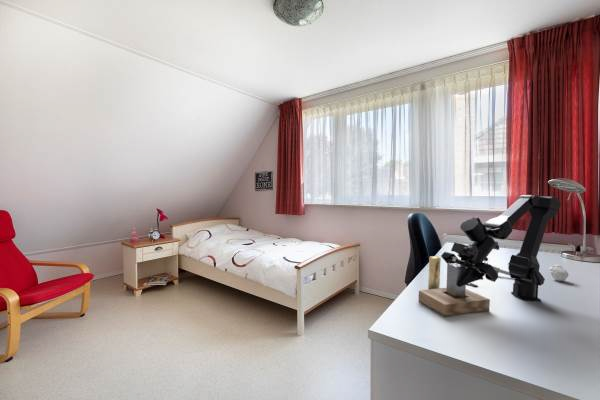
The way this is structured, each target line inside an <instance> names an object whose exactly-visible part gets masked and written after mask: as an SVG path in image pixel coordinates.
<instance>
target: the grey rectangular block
mask: <svg viewBox="0 0 600 400" xmlns="http://www.w3.org/2000/svg"><path fill="white" fill-rule="evenodd" d="M446 264H447V263H446ZM466 268H467V267H466V266H464V265H461V264H458V263H451V264H447V266H446V287H445V288H446V294H447V295H449V296H451V297H453V298H455V299H458V298H465V290H466V289H467V288H466V285H467V284H466V285H463V286H461V287H458V285H457V284H458V282H459V280H460V279H461V278H462V276H463V275H464V274H465V272H466Z"/></svg>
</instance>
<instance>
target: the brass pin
mask: <svg viewBox="0 0 600 400" xmlns="http://www.w3.org/2000/svg"><path fill="white" fill-rule="evenodd" d="M428 258H429V260H428V262H429V263H428V284H427V285H428V286H427V287H428V289H438V288H440V282H441V281H440V280H441V258H442V257H441V256H433V255H432V256H431V255H430V256H428ZM428 289H427V290H428Z"/></svg>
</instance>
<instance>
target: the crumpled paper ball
mask: <svg viewBox="0 0 600 400" xmlns="http://www.w3.org/2000/svg"><path fill="white" fill-rule="evenodd" d="M548 271H549V273H550V275H551V277H552V279H554V280H555V281H558V282H564V281H566V280H567V278H568V277H569V276H570V275H569V272H568V271H567V269H566V268H564V267H563V266H562V265H560V264H552V265H551V266H549V269H548Z"/></svg>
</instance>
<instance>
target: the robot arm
mask: <svg viewBox="0 0 600 400" xmlns="http://www.w3.org/2000/svg"><path fill="white" fill-rule="evenodd" d="M561 205H562V204H561V201H560V200H559V199H558V198H557V197H555V196H543V195H542V196H541V195H540V196H539V195H535V194H534V195H533V194H522V195H519V196H518V198H517V199H516V200H515V201H514V203H512V204H511V205H510V206H509V207H508V208H507V209H506V210H504V211H503V212H502V213H501V214H500V215H499V216H496V217H492V218H489V219H488V220H486V221H485V222H484V223H483V222H482V221H481V219H480V217H475V216H472V217H471V218H470V219H467V220H466V221H463V222H462V223H461V224H460V226H459V227H460V228H459V229H460V230H461V231H462V232H463V233H464V235H465V236H466V237H467V238H468V240H470V241H471V242H472V244H471V243H469V244H468V245H466V244H463V243H459V242H456V241H454V242H453V245H452V247H451V250H450V251H451V252H448V251H444V252H443V253H442V254H441V255H440V258H442V259H443V260H444V262H445V263H446V264H451V263H458V264H461V265H464V266H466V272H465V274H464V275H463V276H462V278H461V279H460V280H459V282H458V284H457V285H458V287H461V286H463V285H467V284H468V283H473V282H477V281H479V280H481V281H483V280H484V276H485V279H486V280H488V281H491V282H493V283H495V282H496V281H497V280H498V279H499V273H497V272H496V271H495V269H494V268H493V267H492V266H493V265H492V264H489V263H488V264H486V263H487V262H488V261H489V258H488V256H489V255H490V253H491V252H492V251H493V250H497V251H499V250H500V246H499V241H495V240H494V239H497V240H503V241H505V240H506V239H508V237H509V236H510V235H511V233H513V226H514V225H515V224H516V223H517V222H518V221H519V220H520V219H521V218H523V216H524V215H526V214H527V213H529V215H530V220H529V223H528V225H527V229H526V232H525V234H524V238H523V240H522V241H523V242H522V244H521V247H520V250H519V252H518V253H516V255H515V254H512V255H511V256H510V259H509V262H508V264H507V266H508V267H507V268H508V272H509V273H510V275H509V276H510V279H514V282H513V284H512V285H513V286H512V291H510V294H512V295H514V296H515V297H517V298H519V299H520V300H522V301H535V302H536V301H538V302H542V299H541V298H539V297H538V296H539V286H541V287H542V285H544V283H545V281H546V279H545V277H544V276H543V274H542V273H541V272H540V263H539V260H538V253H539V250H540V247H541V246H542V245H541V244H542V241H543V239H544V235H545V231H546V228H547V226H548V222H549V221H550V220H551V219H553V218H554V217H556V216H557V214H558V212H559V209H560V208H561ZM452 252H454V253H455V254H454V253H452ZM456 254H457V256H456ZM458 257H459V258H460V259H459V258H458ZM484 262H485V263H484Z"/></svg>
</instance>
